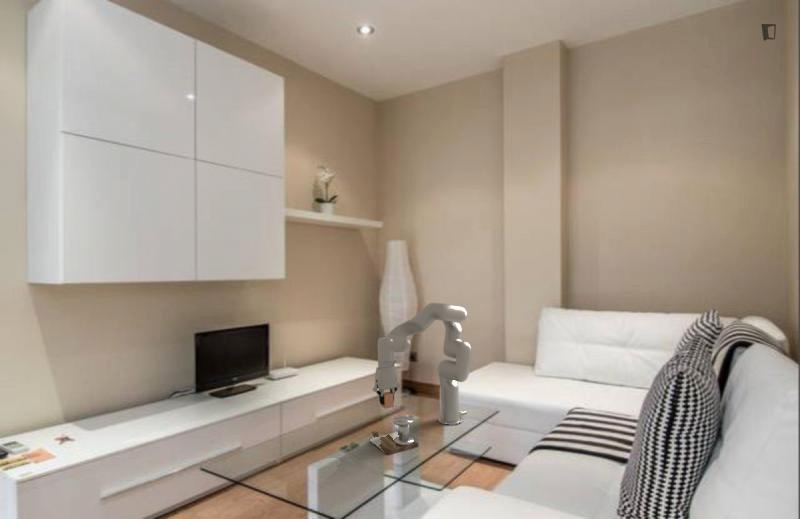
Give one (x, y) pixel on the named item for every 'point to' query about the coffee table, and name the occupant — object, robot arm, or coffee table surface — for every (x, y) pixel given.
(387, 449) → the winding board
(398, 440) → the bobbin
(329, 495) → the coffee table surface
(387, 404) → the orange brown block
